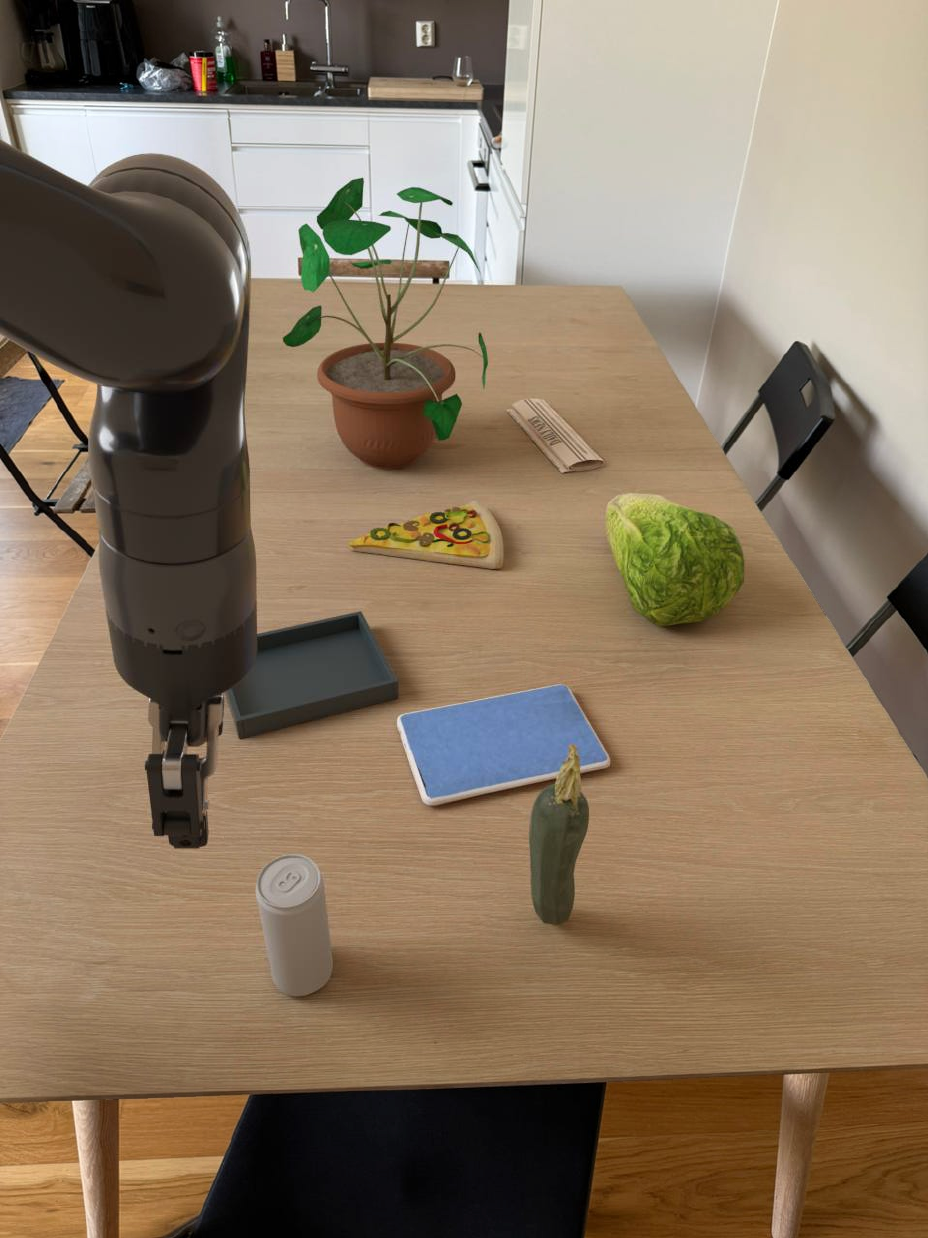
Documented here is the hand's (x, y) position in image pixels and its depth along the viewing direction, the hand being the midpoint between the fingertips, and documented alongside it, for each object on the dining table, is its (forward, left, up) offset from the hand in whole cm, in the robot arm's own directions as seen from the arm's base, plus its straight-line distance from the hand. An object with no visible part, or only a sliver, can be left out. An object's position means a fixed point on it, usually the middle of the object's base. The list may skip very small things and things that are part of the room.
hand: (198, 784), depth 56 cm
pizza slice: (+36, +54, -23) cm, 68 cm away
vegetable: (+25, -4, -23) cm, 34 cm away
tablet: (+30, +16, -23) cm, 40 cm away
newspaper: (+67, +77, -23) cm, 104 cm away
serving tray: (+14, +33, -22) cm, 42 cm away
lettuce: (+61, +36, -23) cm, 74 cm away
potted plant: (+42, +83, -23) cm, 95 cm away
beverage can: (+5, -1, -23) cm, 23 cm away
